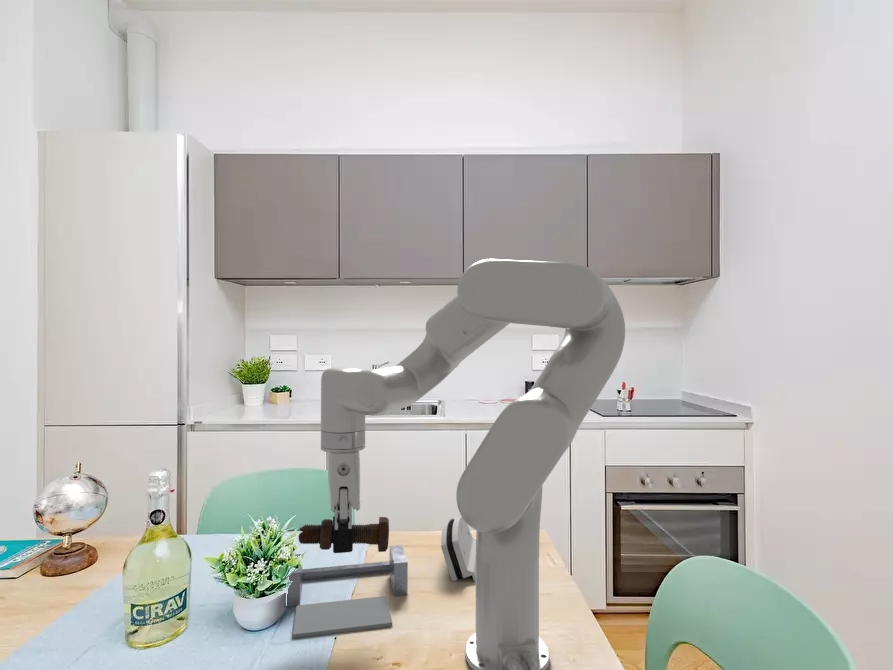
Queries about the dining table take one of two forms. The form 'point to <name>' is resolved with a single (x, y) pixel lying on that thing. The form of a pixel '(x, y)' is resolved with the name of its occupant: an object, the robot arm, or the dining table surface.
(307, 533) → the bolt
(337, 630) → the mat
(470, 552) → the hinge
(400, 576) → the vise
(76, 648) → the dining table surface
